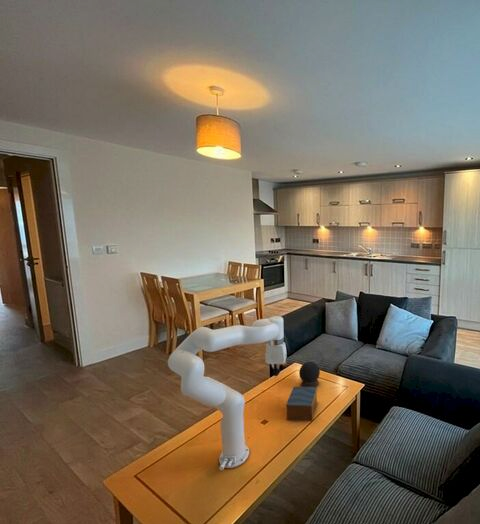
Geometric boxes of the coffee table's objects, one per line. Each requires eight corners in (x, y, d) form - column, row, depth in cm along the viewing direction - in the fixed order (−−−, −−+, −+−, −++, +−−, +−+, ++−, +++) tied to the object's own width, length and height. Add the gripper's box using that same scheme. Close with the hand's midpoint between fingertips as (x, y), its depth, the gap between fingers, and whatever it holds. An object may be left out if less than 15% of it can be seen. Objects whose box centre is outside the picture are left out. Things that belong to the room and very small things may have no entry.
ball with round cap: (310, 392, 177) (310, 370, 175) (295, 385, 184) (294, 364, 182) (323, 382, 188) (323, 361, 186) (308, 376, 195) (308, 356, 193)
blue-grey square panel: (311, 406, 150) (311, 405, 150) (286, 405, 151) (285, 404, 151) (316, 388, 167) (316, 387, 167) (293, 387, 167) (293, 386, 167)
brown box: (311, 420, 153) (311, 405, 151) (286, 419, 153) (286, 404, 152) (316, 402, 168) (316, 388, 167) (294, 401, 169) (293, 387, 167)
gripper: (258, 343, 141) (259, 377, 143) (288, 344, 140) (288, 379, 142) (264, 337, 148) (265, 370, 151) (292, 338, 147) (292, 372, 150)
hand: (276, 374), depth 146 cm, fingers closed
